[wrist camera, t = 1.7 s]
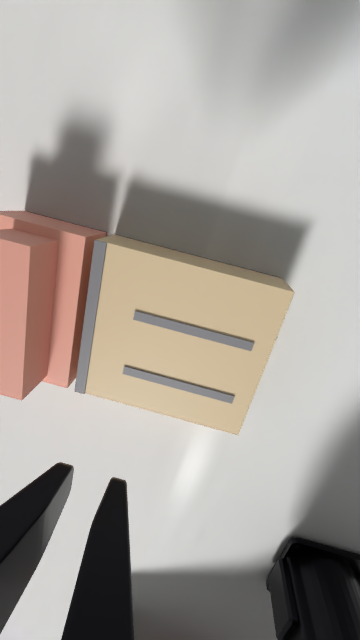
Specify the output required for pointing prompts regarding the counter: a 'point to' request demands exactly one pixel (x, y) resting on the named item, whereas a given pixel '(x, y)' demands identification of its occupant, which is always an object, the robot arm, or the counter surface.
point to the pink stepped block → (41, 299)
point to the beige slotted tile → (177, 332)
